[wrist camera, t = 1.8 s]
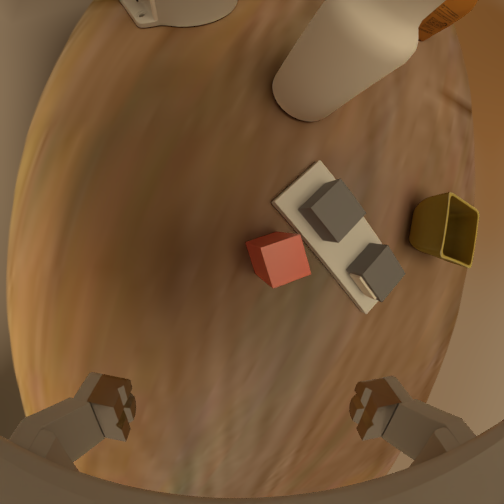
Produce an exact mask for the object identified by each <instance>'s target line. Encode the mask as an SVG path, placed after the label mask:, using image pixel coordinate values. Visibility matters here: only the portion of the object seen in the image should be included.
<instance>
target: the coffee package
mask: <svg viewBox="0 0 504 504" xmlns="http://www.w3.org/2000/svg"><path fill="white" fill-rule="evenodd" d="M477 1H478V0H446V1H444V2H443V3H442V4H441V5H440V6H439V7H437V8H436V9H435V10H434V11H433V12H432V13H430V14H429V15H428V16H427V17H426V18H425V19H423V20H422V22H421V24H420V26H419V27H418V39H419V40H421V41H424V40H426V39H428V38H430V37H431V36H432V35H434V34H436V33H438V32H440V31H441V30H443V29H445V28H447V27H448V26H450V25H452V24H453V23H454V22H456V21H458V20H459V19H461V18H462V17H464V16H465V15H466V14H468V13H469V12H470V11H471V10H472V9H473V7H474V6H475V5H476V3H477Z"/></svg>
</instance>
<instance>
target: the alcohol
mask: <svg viewBox="0 0 504 504" xmlns="http://www.w3.org/2000/svg"><path fill="white" fill-rule="evenodd" d="M444 1H446V0H325V1H324V3H323V4H322V5H321V7H320V8H319V10H318V11H317V13H316V14H315V15H314V17H313V18H312V20H311V21H310V23H309V24H308V26H307V27H306V29H305V30H304V32H303V33H302V35H301V36H300V38H299V39H298V41H297V42H296V44H295V45H294V47H293V48H292V50H291V51H290V53H289V54H288V56H287V58H286V59H285V61H284V62H283V64H282V66H281V67H280V69H279V70H278V72H277V74H276V75H275V77H274V80H273V84H272V89H273V94H274V97H275V99H276V101H277V103H278V104H279V105H280V107H281V108H282V109H283V110H284V111H285V112H286V113H288V114H289V115H291V116H292V117H294V118H297V119H299V120H303V121H309V122H313V121H319V120H322V119H324V118H325V117H327V116H328V115H330V114H331V113H333V112H334V111H335V110H337V109H338V108H339V107H341V106H342V105H344V104H345V103H346V102H348V101H349V100H351V99H352V98H354V97H355V96H356V95H358V94H359V93H361V92H362V91H364V90H365V89H367V88H368V87H369V86H371V85H372V84H374V83H375V82H377V81H378V80H380V79H381V78H383V77H384V76H386V75H387V74H389V73H390V72H392V71H394V70H395V69H397V68H398V67H400V66H401V65H403V64H404V63H406V62H407V61H408V60H409V58H410V57H411V56H412V54H413V53H414V52H415V50H416V48H417V45H418V27H419V26H420V24H421V22H422V20H423V19H425V18H426V17H427V16H428V15H429V14H430V13H432V12H433V11H434V10H435V9H436V8H437V7H439V6H440V5H441V4H442V3H443V2H444Z"/></svg>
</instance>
